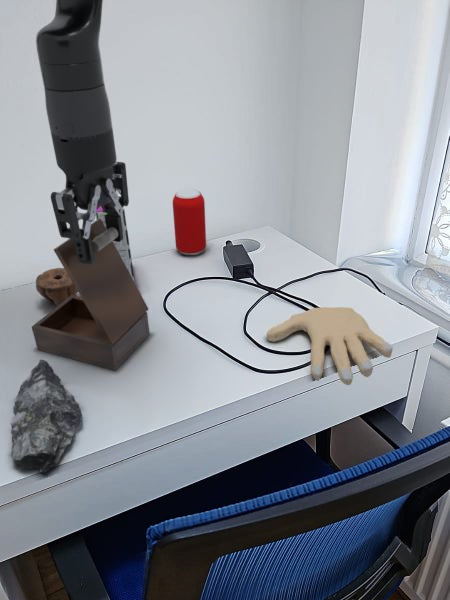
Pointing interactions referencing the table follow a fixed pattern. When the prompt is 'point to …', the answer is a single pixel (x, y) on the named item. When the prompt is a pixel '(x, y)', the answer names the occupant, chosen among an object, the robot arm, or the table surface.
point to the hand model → (335, 339)
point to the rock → (43, 419)
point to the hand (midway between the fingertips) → (101, 250)
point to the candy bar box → (123, 245)
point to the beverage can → (189, 221)
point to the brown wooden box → (85, 335)
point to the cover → (104, 283)
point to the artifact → (55, 285)
